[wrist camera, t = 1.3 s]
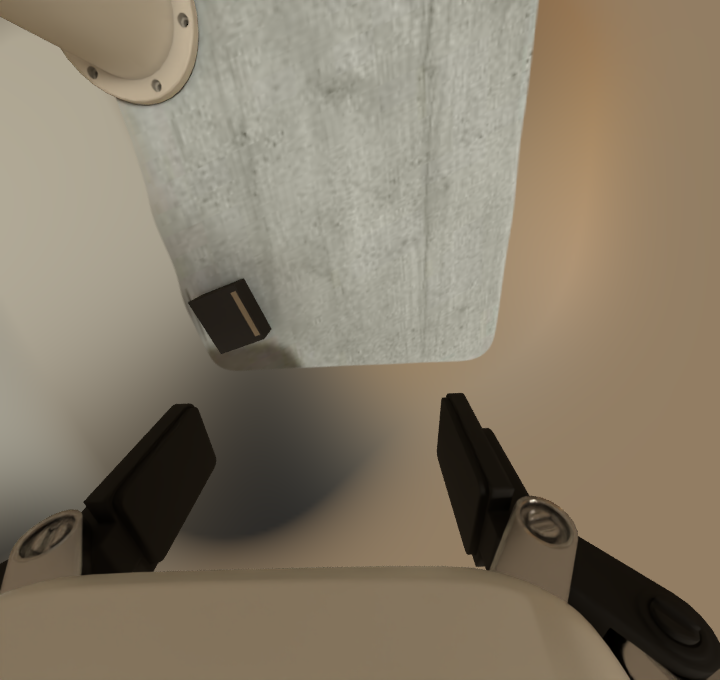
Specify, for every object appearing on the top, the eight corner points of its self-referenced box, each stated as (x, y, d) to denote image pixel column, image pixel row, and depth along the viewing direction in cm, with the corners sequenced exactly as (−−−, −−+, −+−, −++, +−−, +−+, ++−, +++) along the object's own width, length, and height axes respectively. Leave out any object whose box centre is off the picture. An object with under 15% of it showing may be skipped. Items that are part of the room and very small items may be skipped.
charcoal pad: (201, 295, 35) (187, 302, 32) (244, 278, 34) (233, 284, 31) (231, 343, 38) (220, 354, 35) (271, 329, 37) (264, 339, 34)
